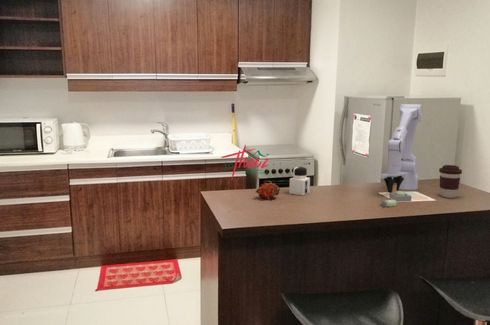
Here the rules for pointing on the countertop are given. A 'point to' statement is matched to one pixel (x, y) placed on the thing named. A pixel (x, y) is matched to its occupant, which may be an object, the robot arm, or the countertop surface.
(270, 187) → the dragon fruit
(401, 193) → the button
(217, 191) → the countertop surface
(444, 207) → the countertop surface
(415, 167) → the robot arm
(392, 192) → the cylinder
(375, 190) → the countertop surface
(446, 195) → the coffee cup
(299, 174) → the container
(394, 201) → the sage marker lying
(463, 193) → the countertop surface
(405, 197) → the white sorting board
